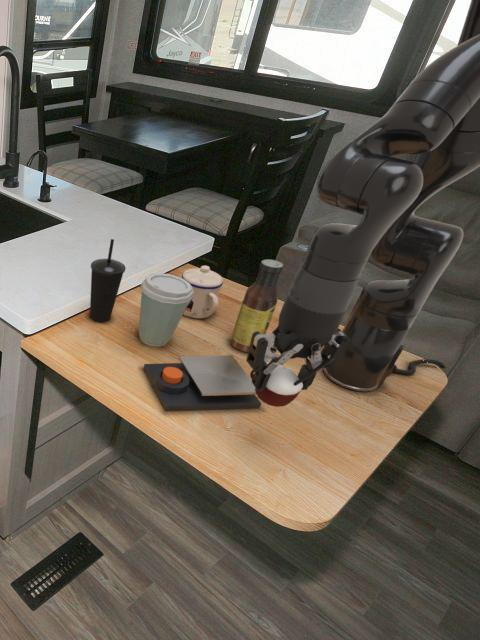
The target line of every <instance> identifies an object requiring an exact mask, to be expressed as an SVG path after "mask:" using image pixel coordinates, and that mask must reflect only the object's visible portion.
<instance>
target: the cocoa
mask: <svg viewBox="0 0 480 640" xmlns="http://www.w3.org/2000/svg"><path fill="white" fill-rule="evenodd" d="M328 358H329V357H328ZM333 360H335V357H333V356H332V357H331V358H329V359H327V360H326V361H324V362H323V363H322V364H320V365H319V366H317V367H316V368H314V369H313V370H312V371H310V372H309V373H307V374H306V375H304V376H303V377H302V378H300V379H299V378H298V377H297V376H298V375H297V374H296V373H295V372H294V371H293V370H292V368H291V367H287V366H284V365H278V366H277V367H276V368H275V369H274V370H273V371H272V372H271V373H270V374H271V375H270V378H269V380H268V383H267V385H266V388H265V390H264V391H258V390H257V389H256V388H255V392H256V394H255V395H256V397H257V398H258V400H259V401H260V402H262V403H264V404H266V405H268V406H271V407H275V408H276V407H277V408H279V407H281V408H282V407H286V406H288V405H289V404H291V403H292V402H293V401H294V400H296V398H297V397H298V396H299V394H300V393H301V391H302V390H301V389H302V388H303V383H302V382H303V381H304V380H306V379H307V378H309V377H310V376H311V375H313V374H314V373H316V372H317V371H319V370H320V369H322V368H323V367H324V366H326V365H327V364H329V363H330V362H332V361H333ZM323 369H324V368H323ZM323 369H322V370H323ZM254 373H255V371H254V370H253V369H252V370H250V373H249V378H250V379H251V380H252V378H253V376H254Z"/></svg>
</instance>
